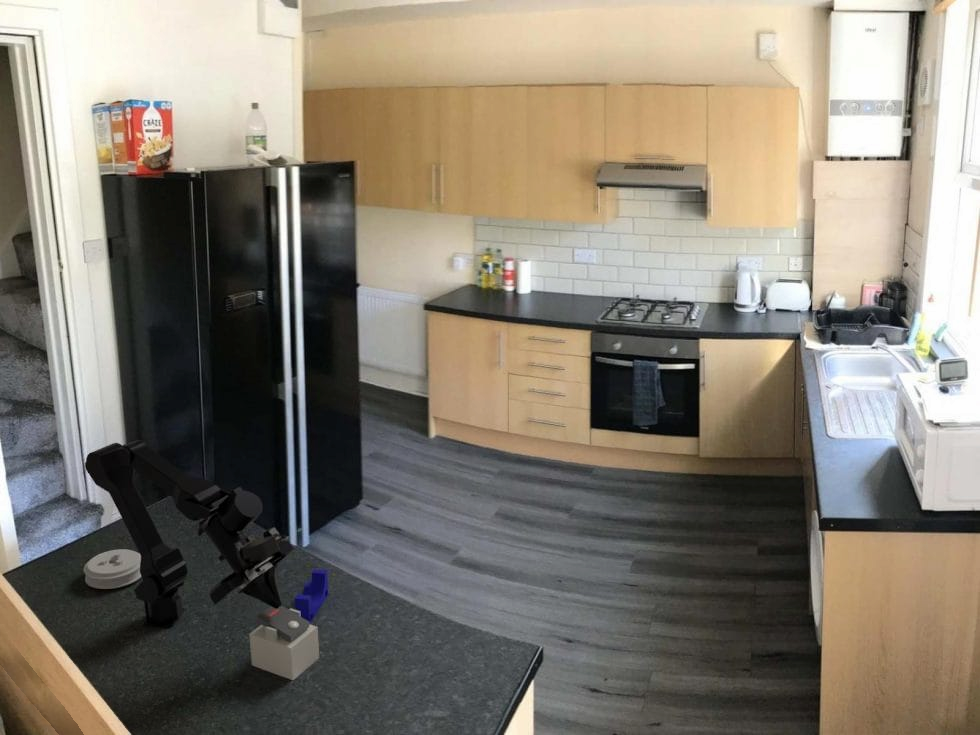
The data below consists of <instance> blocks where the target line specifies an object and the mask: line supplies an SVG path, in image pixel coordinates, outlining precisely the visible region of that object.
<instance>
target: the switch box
mask: <svg viewBox="0 0 980 735" xmlns="http://www.w3.org/2000/svg"><path fill="white" fill-rule="evenodd" d="M288 610H290V611H292V612H294V613H295V614H297V615H299V616H300V617H301V611H298V610H295V608H289V609H288ZM318 630H319V629H318V626H316V625H313V624H310V625H309V628H307V629H306V630H305V631H304V632H302V633H301V634H300V635H299V636H297V637H296V638H295V639H294V640H292V641H291V642H289V641H288V640H286V639H285V638H283V637H281V636H280V635H278V634H277V629H274V628H271V627H268V626H266V627H265V626H263V625H261V624H260V625H259V626H258V627H257V628H255V629H254V630H252V631H251V632H250V633H249V634H248V635H249V645H250V656H251V657H250V658H251V666H253V667H255V668H258V669H260V670H263V671H266V672H269V673H272V674H273V675H278V676H280V677H283V678H286V679H288V680H291V681H294V680H295V679H297V678H298V677H299V676H301V675H302V673H303V672H305V671H306V670H307V669H308V668H310V667H311V666H312V665H313V664H314V663H315V662H317V661H318V660H319V659H320V652H319V651H320V648H319V647H320V646H319V632H318Z"/></svg>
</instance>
